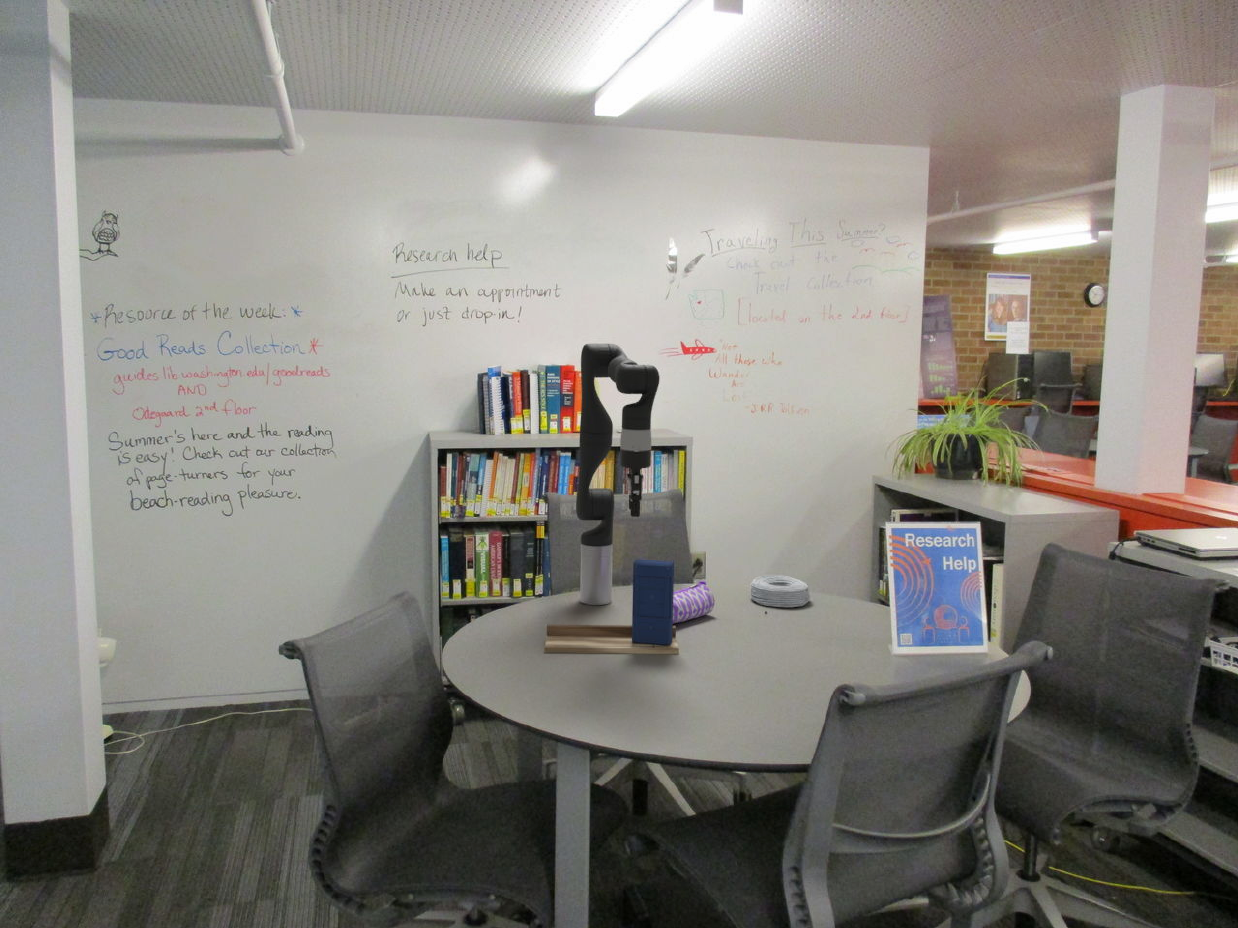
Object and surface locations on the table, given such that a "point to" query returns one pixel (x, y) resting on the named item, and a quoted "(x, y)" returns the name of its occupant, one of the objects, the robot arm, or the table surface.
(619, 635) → the guide board
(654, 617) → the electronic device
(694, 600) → the pencil case
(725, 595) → the table surface
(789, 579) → the cable
